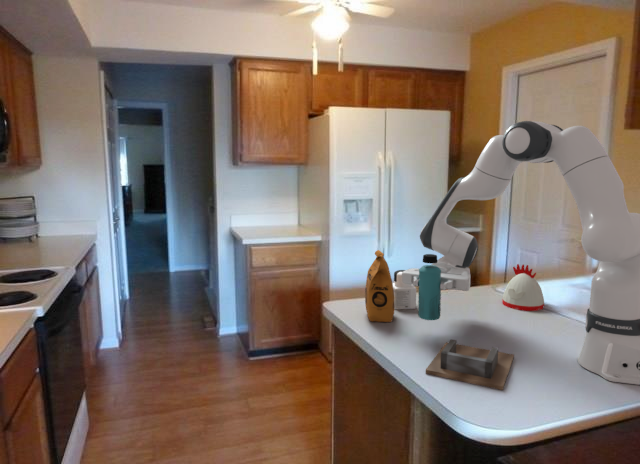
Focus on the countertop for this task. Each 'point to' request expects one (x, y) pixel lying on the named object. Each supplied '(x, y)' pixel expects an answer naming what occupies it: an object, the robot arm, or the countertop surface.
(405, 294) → the container
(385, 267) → the coffee package
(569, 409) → the countertop surface
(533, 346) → the countertop surface
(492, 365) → the bottle dock
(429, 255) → the beverage bottle
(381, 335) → the countertop surface
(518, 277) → the kitchen timer
